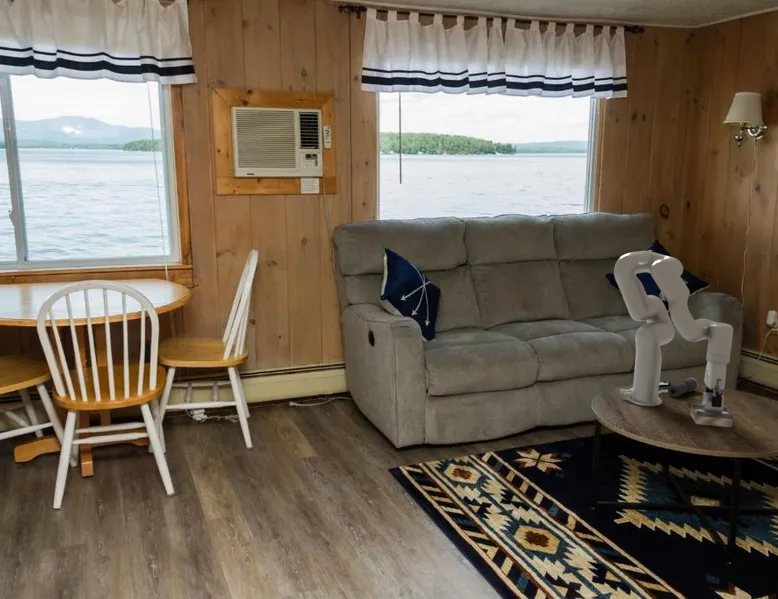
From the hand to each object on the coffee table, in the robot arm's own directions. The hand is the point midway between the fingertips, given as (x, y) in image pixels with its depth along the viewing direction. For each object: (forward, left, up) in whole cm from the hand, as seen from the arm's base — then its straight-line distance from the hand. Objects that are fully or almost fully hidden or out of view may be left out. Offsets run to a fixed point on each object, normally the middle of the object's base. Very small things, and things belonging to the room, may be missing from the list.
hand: (712, 402), depth 247 cm
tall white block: (0, 0, -4) cm, 4 cm away
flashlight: (-4, +30, -7) cm, 32 cm away
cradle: (0, 0, -7) cm, 7 cm away
